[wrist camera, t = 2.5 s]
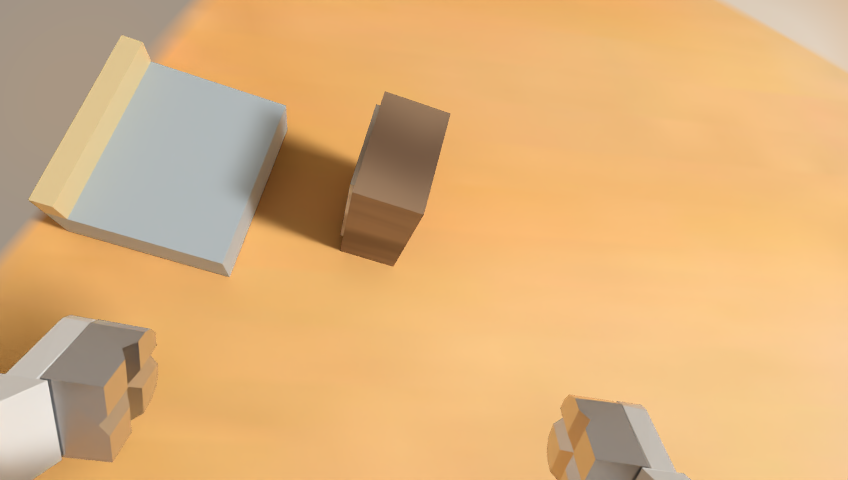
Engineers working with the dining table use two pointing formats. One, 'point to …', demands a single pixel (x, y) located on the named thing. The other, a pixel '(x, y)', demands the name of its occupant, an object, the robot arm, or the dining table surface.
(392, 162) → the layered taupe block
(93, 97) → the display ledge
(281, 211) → the dining table surface
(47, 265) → the dining table surface
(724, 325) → the dining table surface
